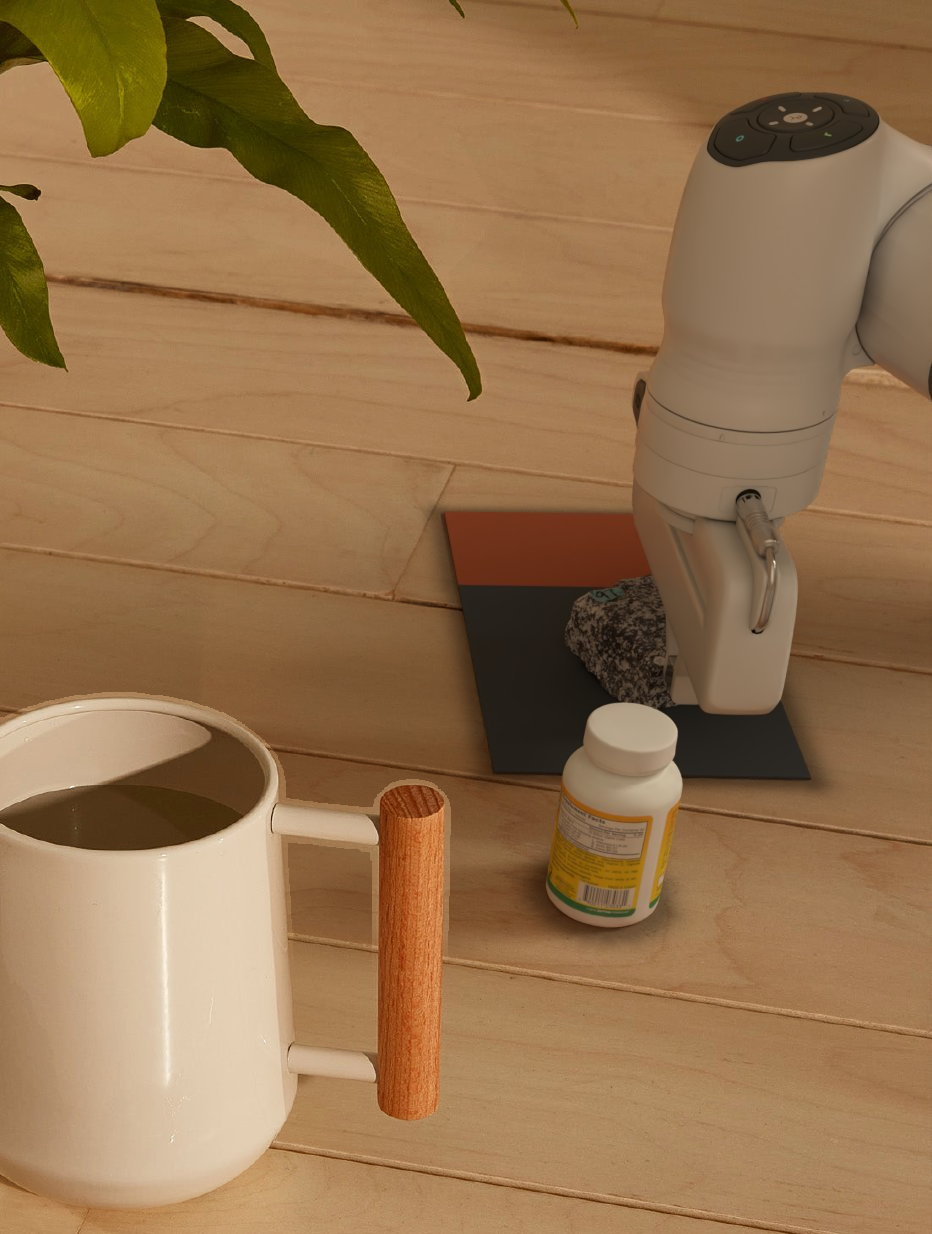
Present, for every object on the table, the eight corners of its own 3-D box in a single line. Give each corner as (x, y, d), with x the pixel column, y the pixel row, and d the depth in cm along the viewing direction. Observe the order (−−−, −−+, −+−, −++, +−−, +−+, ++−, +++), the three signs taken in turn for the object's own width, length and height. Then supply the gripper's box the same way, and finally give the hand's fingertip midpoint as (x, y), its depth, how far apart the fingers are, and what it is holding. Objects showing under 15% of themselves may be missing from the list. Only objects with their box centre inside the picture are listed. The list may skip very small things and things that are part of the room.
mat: (707, 517, 132) (708, 515, 132) (811, 779, 110) (811, 777, 110) (444, 513, 133) (444, 511, 132) (493, 773, 110) (493, 771, 110)
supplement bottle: (593, 944, 99) (623, 772, 94) (520, 882, 103) (545, 713, 97) (683, 909, 101) (718, 739, 96) (609, 849, 105) (639, 682, 99)
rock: (788, 675, 117) (803, 608, 115) (634, 720, 114) (646, 652, 111) (700, 611, 123) (712, 545, 120) (550, 651, 119) (560, 585, 117)
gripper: (851, 555, 95) (790, 809, 104) (752, 361, 112) (706, 594, 120) (707, 553, 96) (657, 807, 104) (629, 360, 112) (591, 593, 120)
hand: (682, 691), depth 112 cm, fingers closed
